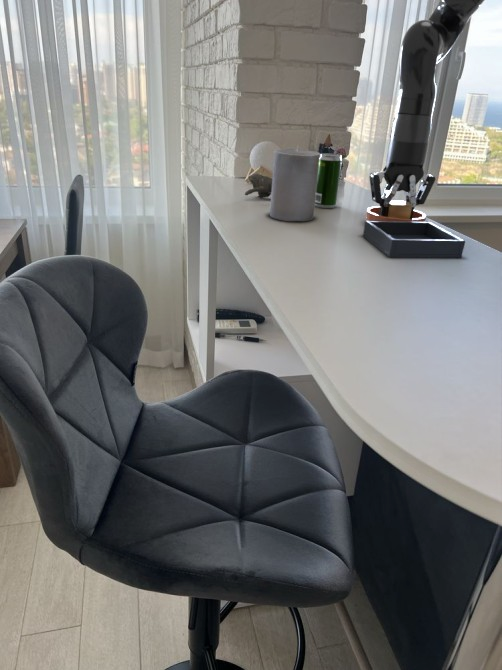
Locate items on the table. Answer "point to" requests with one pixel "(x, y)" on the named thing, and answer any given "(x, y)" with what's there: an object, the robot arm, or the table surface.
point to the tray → (413, 239)
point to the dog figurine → (260, 185)
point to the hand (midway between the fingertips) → (394, 223)
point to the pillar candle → (294, 184)
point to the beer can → (328, 180)
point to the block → (399, 209)
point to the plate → (373, 216)
